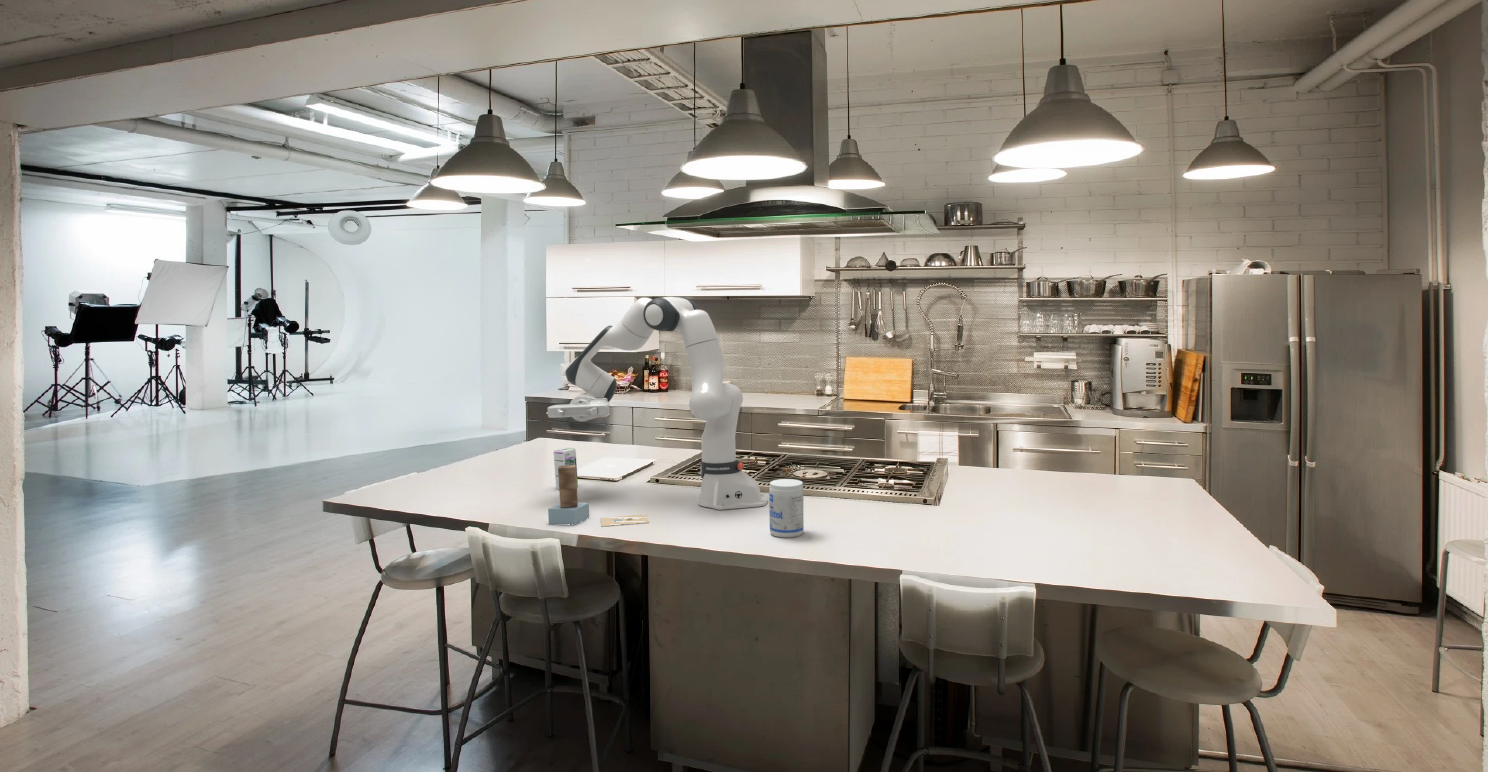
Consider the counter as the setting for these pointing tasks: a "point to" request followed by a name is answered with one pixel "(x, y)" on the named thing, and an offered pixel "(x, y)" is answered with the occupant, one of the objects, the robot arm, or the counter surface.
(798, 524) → the supplement tub
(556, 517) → the brick
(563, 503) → the block
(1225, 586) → the counter surface
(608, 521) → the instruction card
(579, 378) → the robot arm
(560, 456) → the syrup box
